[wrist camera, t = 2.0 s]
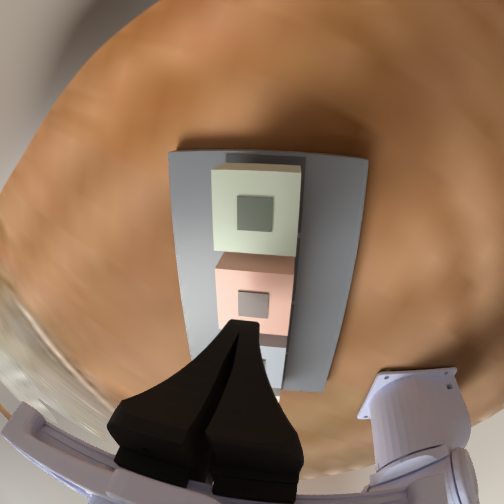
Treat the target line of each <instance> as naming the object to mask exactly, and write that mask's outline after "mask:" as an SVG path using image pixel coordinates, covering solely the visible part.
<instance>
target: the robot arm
mask: <svg viewBox="0 0 504 504" xmlns="http://www.w3.org/2000/svg"><path fill="white" fill-rule="evenodd" d="M259 336H260V324H259V323H258V322H255V321H245V320H236V319H230V320H229V321H228V322H227V323H226V325H225V326H224V327H223V329H222V330H221V331H220V332H219V334H218V335H217V336H216V337H215V338H214V339H213V340H212V341H211V343H210V344H209V345H208V346H207V347H206V348H205V349H204V350H203V351H202V352H201V353H200V354H199V355H198V356H197V357H196V358H194V359H193V360H192V361H191V362H190V363H189V364H187V365H186V366H185V367H184V368H182V369H181V370H180V371H178V372H177V373H176V374H174V375H173V376H171V377H170V378H168V379H167V380H165V381H163V382H162V383H160V384H158V385H156V386H154V387H153V388H151V389H149V390H147V391H145V392H143V393H140V394H138V395H135V396H133V397H130V398H128V399H125V400H122V401H121V403H120V404H119V405H118V407H117V408H116V410H115V411H114V413H113V415H112V417H111V418H110V420H109V422H108V424H107V429H108V431H109V433H110V434H111V436H112V437H113V438H114V440H115V441H116V442H117V443H118V445H119V446H120V448H119V450H118V452H117V454H116V456H115V455H113V454H110V453H108V452H106V451H103V450H101V449H99V448H97V447H94V446H92V445H90V444H88V443H86V442H84V441H82V440H80V439H78V438H76V437H74V436H72V435H70V434H68V433H67V432H65V431H63V430H61V429H59V428H57V427H56V426H54V425H52V424H51V423H49V422H47V421H46V420H45V418H44V417H43V416H42V415H41V413H40V412H38V411H37V410H36V409H34V408H33V407H31V406H30V405H28V404H27V403H25V402H22V403H21V404H20V405H19V407H18V408H17V410H16V411H15V412H14V414H13V415H12V416H11V418H10V419H9V421H8V422H7V424H6V425H5V427H4V428H3V429H2V431H1V432H0V433H1V435H2V436H3V437H4V438H5V439H6V440H7V441H8V442H9V443H10V444H11V445H12V446H13V447H15V448H16V449H17V450H18V451H19V452H20V453H21V454H22V455H23V456H25V457H26V458H27V459H28V460H30V461H31V462H32V463H34V464H35V465H36V466H38V467H39V468H41V469H42V470H44V471H45V472H46V473H48V474H49V475H51V476H52V477H54V478H56V479H57V480H58V481H60V482H61V483H63V484H65V485H66V486H68V487H70V488H71V489H73V490H75V491H76V492H78V493H80V494H81V495H83V496H85V497H87V498H89V499H90V501H89V503H88V504H479V498H478V485H477V479H476V474H475V470H474V467H473V463H472V461H471V458H470V455H469V453H468V451H467V450H466V449H464V448H465V446H466V445H467V442H468V440H469V437H470V432H471V420H470V416H469V412H468V410H467V407H466V404H465V401H464V399H463V396H462V394H461V391H460V389H459V386H458V384H457V381H456V379H455V374H456V372H457V368H456V367H450V368H439V369H427V370H412V371H388V372H380V373H378V374H377V376H376V378H375V380H374V382H373V384H372V387H371V389H370V391H369V393H368V395H367V397H366V399H365V401H364V403H363V405H362V407H361V409H360V411H359V413H358V414H357V418H358V419H371V425H372V433H373V442H374V452H375V463H376V473H375V474H373V475H370V484H369V485H367V486H365V488H364V489H363V490H362V492H361V493H353V494H335V495H296V492H297V484H298V481H299V473H300V471H301V468H302V466H303V464H304V456H303V450H302V447H301V443H300V440H299V437H298V434H297V432H296V431H295V429H294V428H293V426H292V425H291V423H290V422H289V420H288V419H287V417H286V415H285V414H284V412H283V410H282V408H281V406H280V404H279V402H278V400H277V398H276V396H275V394H274V392H273V390H272V387H271V385H270V382H269V379H268V377H267V374H266V370H265V367H264V363H263V359H262V355H261V349H260V343H259ZM213 482H214V484H213ZM212 484H213V485H212Z"/></svg>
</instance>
